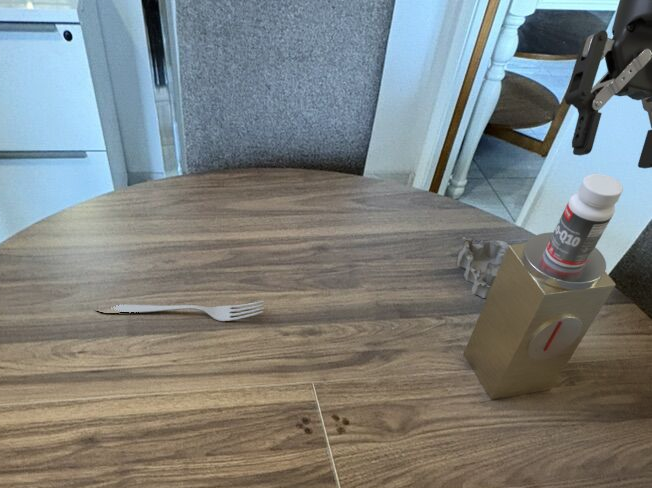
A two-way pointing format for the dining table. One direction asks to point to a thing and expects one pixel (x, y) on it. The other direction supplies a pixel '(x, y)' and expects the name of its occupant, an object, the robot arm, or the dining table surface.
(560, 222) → the pill bottle
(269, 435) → the dining table surface
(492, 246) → the egg carton
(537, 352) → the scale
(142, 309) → the fork
